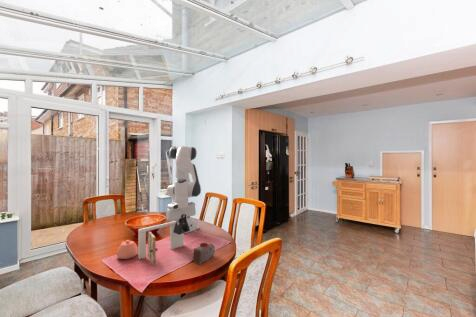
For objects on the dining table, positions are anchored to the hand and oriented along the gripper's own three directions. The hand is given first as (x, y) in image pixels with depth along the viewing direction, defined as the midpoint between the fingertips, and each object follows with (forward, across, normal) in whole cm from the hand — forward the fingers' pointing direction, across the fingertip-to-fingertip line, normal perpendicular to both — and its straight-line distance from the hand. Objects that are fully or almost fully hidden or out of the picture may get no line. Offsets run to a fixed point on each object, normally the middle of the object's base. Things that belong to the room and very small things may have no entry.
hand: (181, 224), depth 145 cm
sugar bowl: (+18, +28, -18) cm, 38 cm away
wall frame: (+18, +8, -9) cm, 22 cm away
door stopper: (+5, 0, 0) cm, 5 cm away
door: (+17, +20, -1) cm, 26 cm away
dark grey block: (+18, -4, +19) cm, 27 cm away
